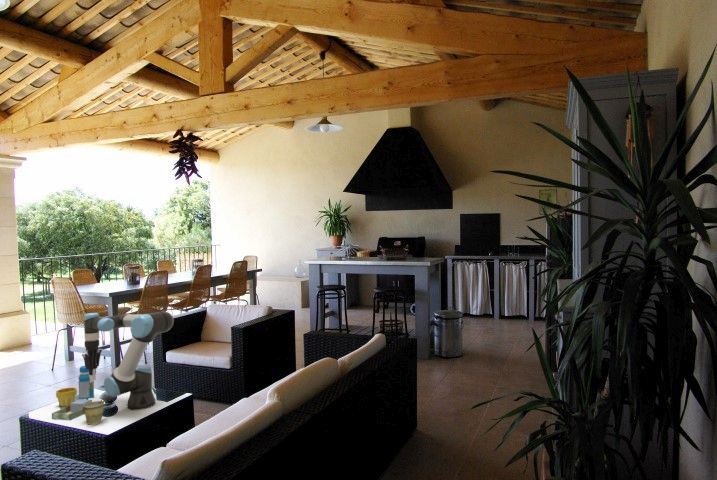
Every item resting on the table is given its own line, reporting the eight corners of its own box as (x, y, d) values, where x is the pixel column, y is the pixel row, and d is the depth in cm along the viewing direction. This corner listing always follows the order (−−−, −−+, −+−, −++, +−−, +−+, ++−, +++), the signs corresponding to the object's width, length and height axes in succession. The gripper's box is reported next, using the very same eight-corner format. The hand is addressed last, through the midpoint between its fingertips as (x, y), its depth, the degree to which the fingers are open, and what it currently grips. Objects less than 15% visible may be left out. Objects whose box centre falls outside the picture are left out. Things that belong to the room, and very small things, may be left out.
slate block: (92, 408, 274) (92, 399, 274) (82, 412, 268) (82, 403, 268) (80, 407, 276) (80, 399, 276) (70, 412, 269) (70, 403, 269)
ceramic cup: (94, 427, 249) (93, 407, 249) (78, 425, 252) (78, 406, 252) (113, 418, 262) (113, 399, 262) (98, 416, 264) (98, 398, 264)
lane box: (104, 406, 281) (104, 399, 282) (70, 422, 257) (70, 414, 257) (87, 405, 284) (87, 398, 284) (51, 421, 259) (51, 413, 259)
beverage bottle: (80, 402, 290) (79, 369, 290) (77, 398, 297) (76, 366, 297) (95, 398, 296) (95, 366, 296) (92, 395, 302) (91, 363, 302)
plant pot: (67, 410, 277) (67, 393, 277) (52, 409, 279) (51, 392, 279) (81, 404, 287) (80, 387, 287) (66, 403, 289) (65, 386, 289)
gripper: (94, 337, 288) (95, 376, 288) (77, 342, 275) (78, 383, 275) (105, 337, 286) (106, 377, 286) (88, 342, 274) (89, 383, 274)
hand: (92, 380), depth 281 cm, fingers closed
